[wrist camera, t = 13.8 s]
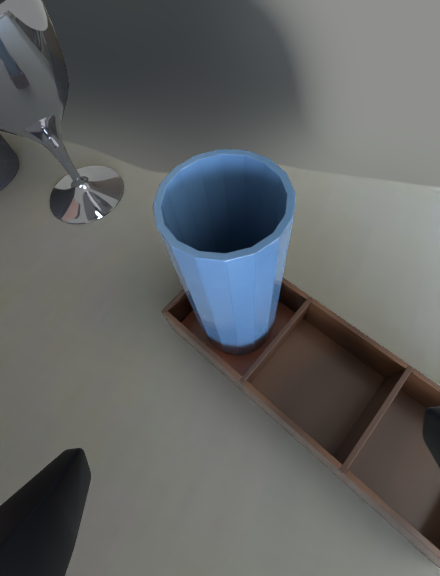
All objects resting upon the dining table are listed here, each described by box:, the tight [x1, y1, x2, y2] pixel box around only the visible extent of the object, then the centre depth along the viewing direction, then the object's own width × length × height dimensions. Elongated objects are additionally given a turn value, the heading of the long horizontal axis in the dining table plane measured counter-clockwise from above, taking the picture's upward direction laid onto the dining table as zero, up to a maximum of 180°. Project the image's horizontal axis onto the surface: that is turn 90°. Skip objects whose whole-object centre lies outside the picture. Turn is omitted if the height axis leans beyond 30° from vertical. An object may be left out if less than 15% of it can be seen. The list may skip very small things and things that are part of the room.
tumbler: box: [153, 149, 296, 356], centre depth 17 cm, size 5×5×12 cm
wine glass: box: [0, 0, 124, 224], centre depth 23 cm, size 8×8×15 cm
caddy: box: [161, 277, 440, 568], centre depth 19 cm, size 20×7×3 cm, turn 48°
